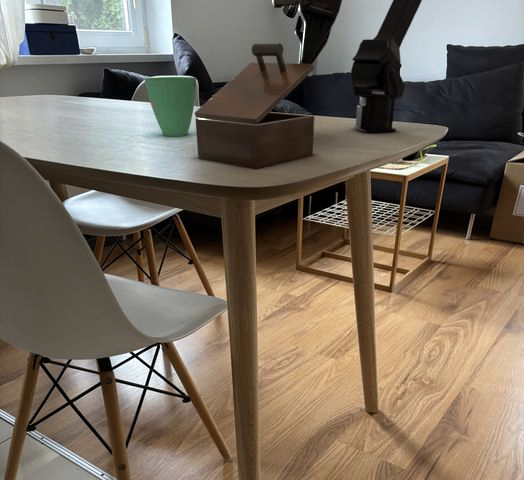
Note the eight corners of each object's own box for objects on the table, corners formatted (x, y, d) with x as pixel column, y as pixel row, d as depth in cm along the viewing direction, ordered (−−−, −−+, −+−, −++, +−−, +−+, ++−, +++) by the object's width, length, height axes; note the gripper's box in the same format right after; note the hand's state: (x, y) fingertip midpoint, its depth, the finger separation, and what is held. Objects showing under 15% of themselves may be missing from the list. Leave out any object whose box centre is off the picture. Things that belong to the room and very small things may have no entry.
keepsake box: (255, 146, 90) (254, 110, 87) (312, 155, 82) (314, 115, 79) (198, 158, 81) (195, 118, 78) (256, 168, 74) (256, 125, 71)
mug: (203, 136, 100) (200, 78, 94) (153, 139, 97) (146, 80, 92) (192, 126, 112) (188, 75, 107) (146, 129, 109) (140, 76, 104)
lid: (252, 67, 83) (242, 37, 80) (314, 69, 76) (307, 36, 72) (196, 117, 78) (183, 88, 75) (256, 124, 71) (246, 92, 67)
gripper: (280, -25, 91) (258, 69, 96) (283, -78, 73) (255, 41, 78) (339, -7, 92) (314, 86, 96) (357, -55, 74) (325, 62, 78)
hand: (302, 70), depth 87 cm, fingers open, 9 cm apart
